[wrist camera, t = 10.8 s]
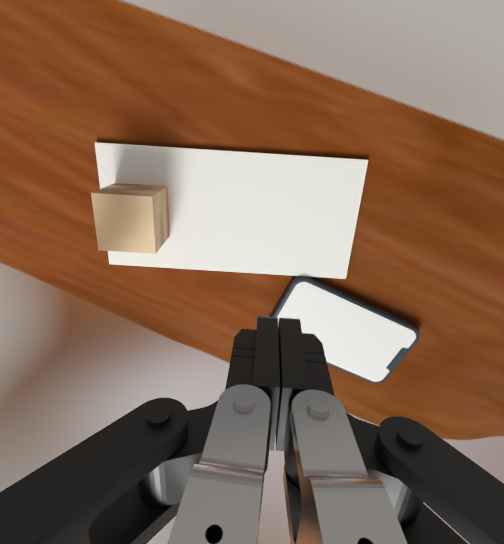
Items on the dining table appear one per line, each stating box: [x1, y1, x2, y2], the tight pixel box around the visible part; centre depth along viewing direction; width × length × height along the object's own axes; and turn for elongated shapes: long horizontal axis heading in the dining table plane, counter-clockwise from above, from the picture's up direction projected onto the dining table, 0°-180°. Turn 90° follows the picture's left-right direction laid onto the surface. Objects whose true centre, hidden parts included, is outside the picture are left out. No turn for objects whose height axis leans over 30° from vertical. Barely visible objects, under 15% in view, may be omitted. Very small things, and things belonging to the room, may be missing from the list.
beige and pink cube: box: [91, 183, 170, 254], centre depth 31 cm, size 5×5×5 cm
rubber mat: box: [95, 142, 368, 279], centre depth 33 cm, size 25×12×1 cm, turn 87°
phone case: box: [270, 276, 420, 383], centre depth 39 cm, size 9×2×16 cm
